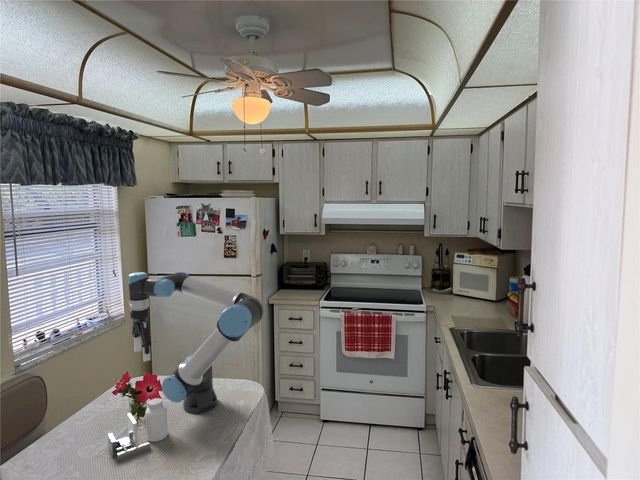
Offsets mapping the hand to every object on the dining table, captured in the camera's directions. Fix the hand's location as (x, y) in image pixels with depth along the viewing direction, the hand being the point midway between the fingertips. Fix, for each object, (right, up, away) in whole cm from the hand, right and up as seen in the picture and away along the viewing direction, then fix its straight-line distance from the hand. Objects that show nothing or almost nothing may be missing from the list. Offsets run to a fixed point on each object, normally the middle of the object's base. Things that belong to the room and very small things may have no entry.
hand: (142, 355), depth 180 cm
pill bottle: (+12, -29, -14) cm, 34 cm away
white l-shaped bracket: (+4, -29, -22) cm, 37 cm away
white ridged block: (+5, -29, -22) cm, 37 cm away
